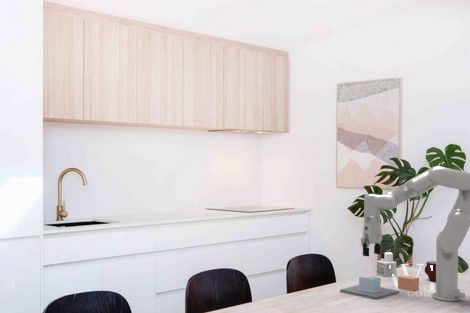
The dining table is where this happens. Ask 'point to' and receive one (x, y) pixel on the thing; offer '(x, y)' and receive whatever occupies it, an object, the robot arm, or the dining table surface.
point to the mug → (428, 270)
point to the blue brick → (369, 283)
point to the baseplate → (372, 295)
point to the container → (386, 265)
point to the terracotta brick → (408, 283)
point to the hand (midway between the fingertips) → (371, 254)
